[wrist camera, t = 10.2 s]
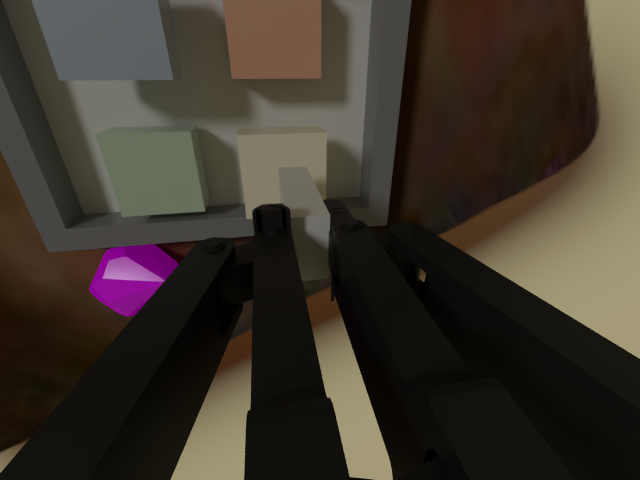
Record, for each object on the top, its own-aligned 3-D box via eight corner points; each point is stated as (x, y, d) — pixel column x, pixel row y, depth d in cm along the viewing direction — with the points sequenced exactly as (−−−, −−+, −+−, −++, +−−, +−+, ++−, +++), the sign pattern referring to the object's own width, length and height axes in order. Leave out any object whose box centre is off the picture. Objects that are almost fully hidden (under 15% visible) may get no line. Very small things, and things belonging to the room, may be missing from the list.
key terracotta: (234, 77, 20) (231, 78, 18) (222, -26, 18) (218, -40, 16) (314, 77, 21) (321, 78, 19) (313, -22, 19) (321, -34, 16)
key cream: (247, 204, 22) (246, 219, 20) (238, 128, 20) (236, 135, 18) (319, 200, 23) (325, 213, 21) (319, 125, 21) (326, 132, 19)
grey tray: (71, 232, 24) (48, 252, 21) (-67, -97, 15) (-132, -131, 13) (374, 210, 28) (386, 225, 25) (398, -64, 19) (421, -85, 17)
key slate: (83, 79, 17) (59, 80, 15) (44, -44, 15) (9, -64, 13) (182, 78, 18) (173, 79, 16) (161, -38, 16) (146, -56, 14)
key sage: (134, 202, 23) (121, 217, 21) (112, 127, 20) (95, 134, 18) (209, 198, 24) (205, 211, 21) (196, 125, 21) (190, 131, 19)
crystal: (119, 227, 25) (93, 258, 21) (190, 251, 26) (178, 283, 23) (103, 278, 26) (76, 316, 22) (170, 297, 28) (156, 335, 24)
